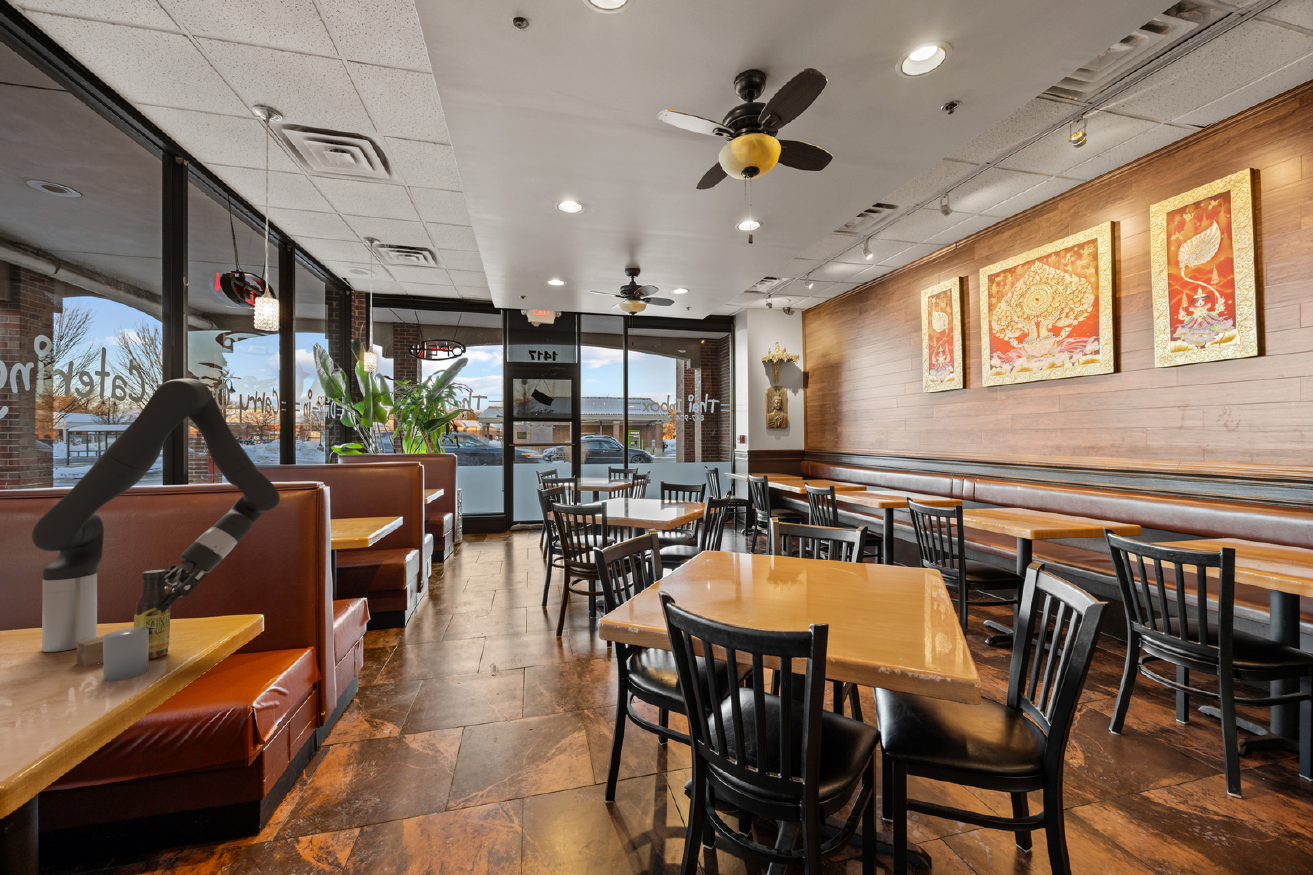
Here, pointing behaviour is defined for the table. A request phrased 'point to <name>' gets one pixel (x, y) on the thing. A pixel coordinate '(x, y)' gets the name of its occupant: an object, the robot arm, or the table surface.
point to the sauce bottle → (153, 613)
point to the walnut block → (90, 651)
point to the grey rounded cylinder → (125, 654)
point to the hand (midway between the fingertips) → (150, 607)
